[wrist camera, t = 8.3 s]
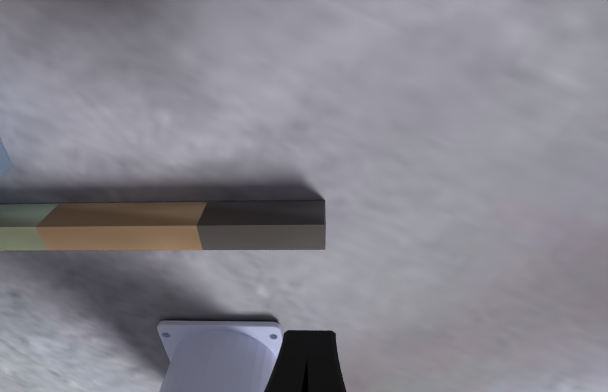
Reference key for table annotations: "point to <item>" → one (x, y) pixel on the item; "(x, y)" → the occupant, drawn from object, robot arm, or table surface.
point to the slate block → (4, 160)
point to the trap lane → (164, 226)
